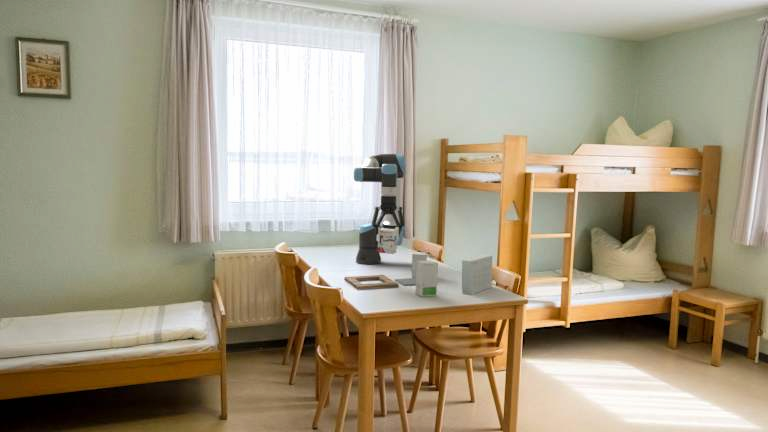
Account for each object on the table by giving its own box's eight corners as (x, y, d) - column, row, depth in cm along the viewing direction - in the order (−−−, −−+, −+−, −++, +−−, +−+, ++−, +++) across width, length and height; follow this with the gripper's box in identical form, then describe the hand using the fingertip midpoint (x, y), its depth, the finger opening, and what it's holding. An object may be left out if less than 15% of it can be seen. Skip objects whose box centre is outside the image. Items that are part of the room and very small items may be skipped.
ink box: (377, 252, 267) (377, 229, 266) (380, 251, 271) (381, 227, 270) (393, 254, 264) (394, 230, 262) (396, 252, 268) (397, 229, 267)
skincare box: (421, 297, 243) (422, 263, 241) (414, 293, 249) (415, 260, 247) (437, 295, 246) (438, 262, 245) (430, 292, 252) (431, 259, 251)
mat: (394, 280, 275) (394, 279, 275) (416, 279, 280) (416, 277, 280) (403, 285, 264) (403, 284, 264) (425, 284, 268) (425, 283, 268)
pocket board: (344, 279, 274) (344, 277, 273) (383, 277, 281) (383, 274, 281) (357, 289, 254) (357, 286, 254) (398, 286, 262) (398, 283, 261)
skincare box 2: (482, 285, 269) (483, 254, 268) (492, 287, 266) (493, 255, 264) (460, 292, 253) (461, 259, 251) (470, 295, 250) (472, 261, 248)
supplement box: (425, 278, 281) (425, 254, 280) (411, 277, 283) (411, 253, 281) (426, 275, 289) (427, 252, 287) (413, 274, 290) (413, 251, 289)
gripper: (369, 196, 257) (368, 242, 260) (412, 196, 265) (410, 241, 267) (365, 194, 264) (364, 240, 267) (406, 194, 272) (405, 238, 274)
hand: (387, 240), depth 267 cm, fingers closed on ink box, 9 cm apart
